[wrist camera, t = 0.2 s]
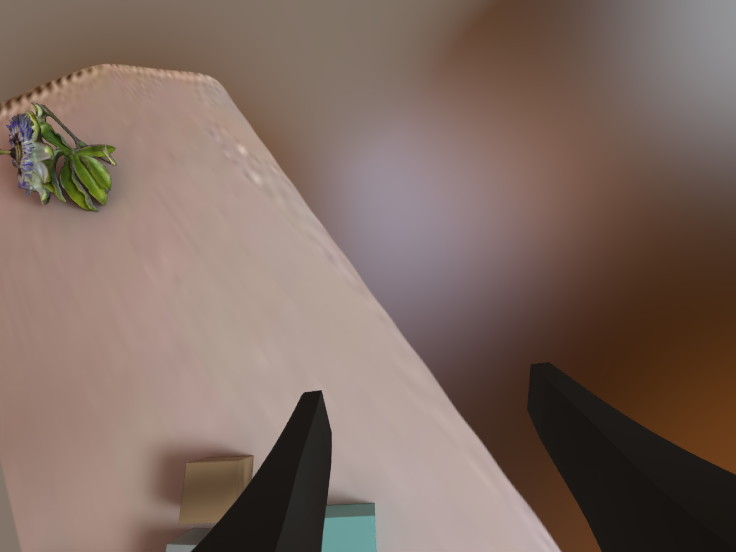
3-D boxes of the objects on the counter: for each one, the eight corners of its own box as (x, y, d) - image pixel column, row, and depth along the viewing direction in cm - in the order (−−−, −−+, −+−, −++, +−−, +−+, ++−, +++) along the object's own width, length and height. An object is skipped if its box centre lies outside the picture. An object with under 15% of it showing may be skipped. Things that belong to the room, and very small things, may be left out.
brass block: (250, 508, 38) (233, 521, 33) (202, 510, 38) (178, 524, 33) (253, 455, 40) (238, 460, 35) (208, 457, 40) (186, 463, 35)
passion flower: (84, 211, 58) (-15, 142, 49) (142, 161, 58) (55, 84, 50) (69, 240, 48) (-56, 160, 40) (140, 179, 49) (31, 87, 40)
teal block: (377, 561, 36) (377, 583, 31) (326, 563, 36) (320, 585, 31) (374, 503, 38) (375, 515, 33) (326, 505, 38) (320, 518, 33)
